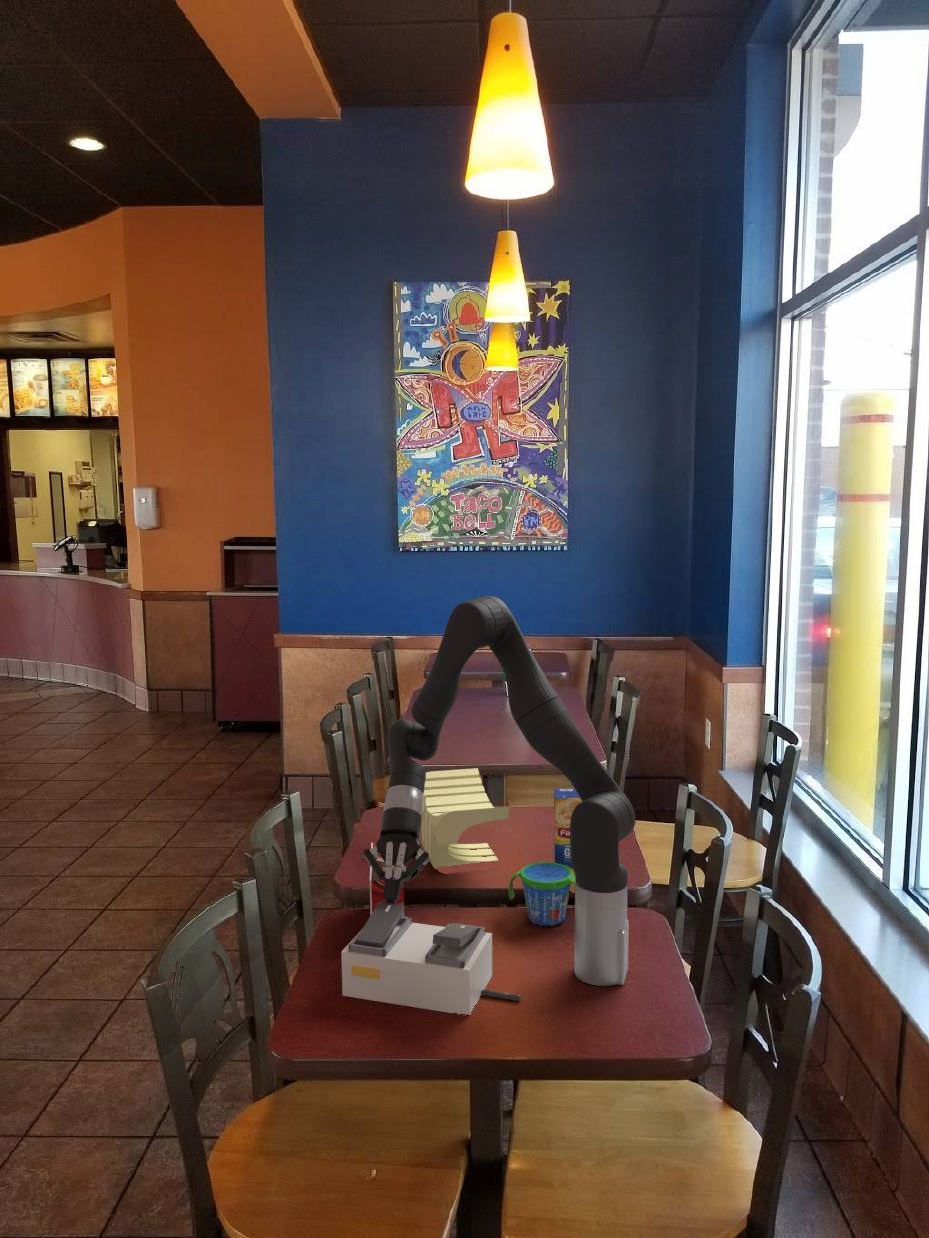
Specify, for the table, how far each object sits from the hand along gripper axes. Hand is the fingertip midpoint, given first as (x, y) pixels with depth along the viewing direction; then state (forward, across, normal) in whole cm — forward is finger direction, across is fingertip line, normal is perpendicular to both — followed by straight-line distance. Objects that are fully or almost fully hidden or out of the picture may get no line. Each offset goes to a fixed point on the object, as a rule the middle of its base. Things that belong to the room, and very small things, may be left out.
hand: (390, 901), depth 174 cm
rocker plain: (+7, +13, -4) cm, 15 cm away
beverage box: (-17, +34, +35) cm, 52 cm away
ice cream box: (-3, -4, +22) cm, 22 cm away
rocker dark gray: (+5, -1, -2) cm, 6 cm away
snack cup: (-7, +27, +25) cm, 38 cm away
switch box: (+14, +10, +4) cm, 17 cm away
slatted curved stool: (-27, +6, +45) cm, 53 cm away
